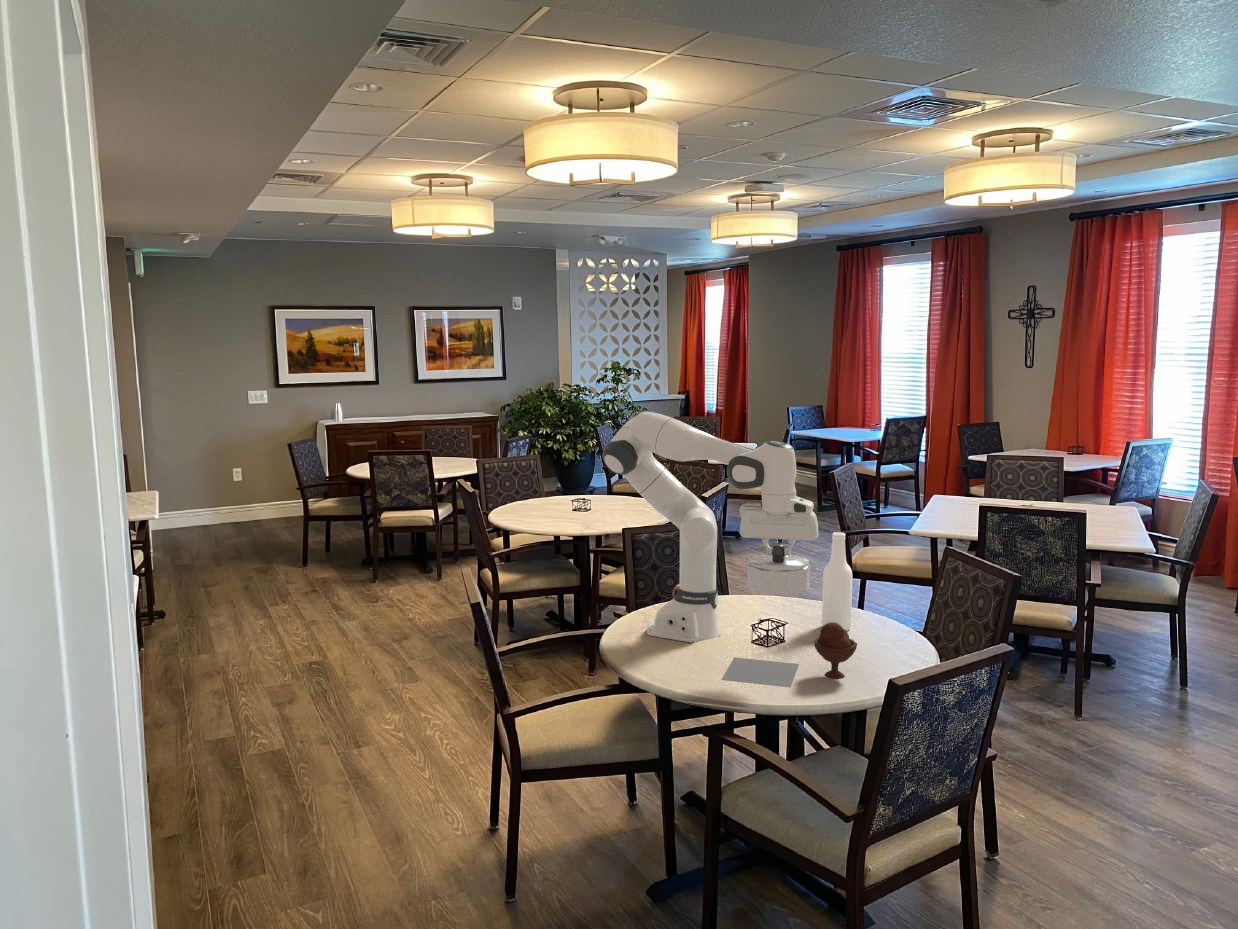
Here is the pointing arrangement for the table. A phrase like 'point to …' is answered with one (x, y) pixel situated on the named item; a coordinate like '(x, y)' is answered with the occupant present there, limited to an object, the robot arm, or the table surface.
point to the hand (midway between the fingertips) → (778, 555)
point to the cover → (778, 573)
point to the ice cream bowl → (834, 647)
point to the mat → (761, 672)
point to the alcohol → (837, 586)
